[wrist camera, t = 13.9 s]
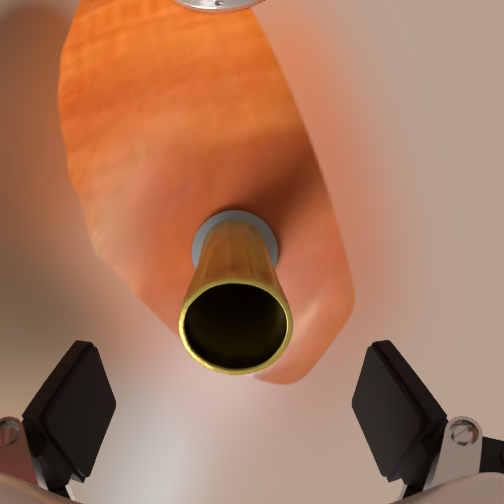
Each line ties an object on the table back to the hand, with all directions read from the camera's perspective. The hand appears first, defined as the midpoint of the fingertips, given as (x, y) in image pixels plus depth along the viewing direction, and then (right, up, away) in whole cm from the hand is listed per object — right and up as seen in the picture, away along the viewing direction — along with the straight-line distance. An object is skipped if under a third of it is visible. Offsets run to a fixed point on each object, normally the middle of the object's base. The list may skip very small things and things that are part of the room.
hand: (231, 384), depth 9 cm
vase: (-1, +4, +18) cm, 18 cm away
